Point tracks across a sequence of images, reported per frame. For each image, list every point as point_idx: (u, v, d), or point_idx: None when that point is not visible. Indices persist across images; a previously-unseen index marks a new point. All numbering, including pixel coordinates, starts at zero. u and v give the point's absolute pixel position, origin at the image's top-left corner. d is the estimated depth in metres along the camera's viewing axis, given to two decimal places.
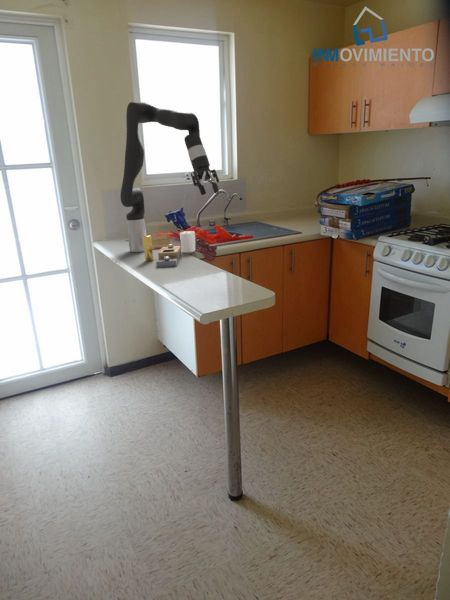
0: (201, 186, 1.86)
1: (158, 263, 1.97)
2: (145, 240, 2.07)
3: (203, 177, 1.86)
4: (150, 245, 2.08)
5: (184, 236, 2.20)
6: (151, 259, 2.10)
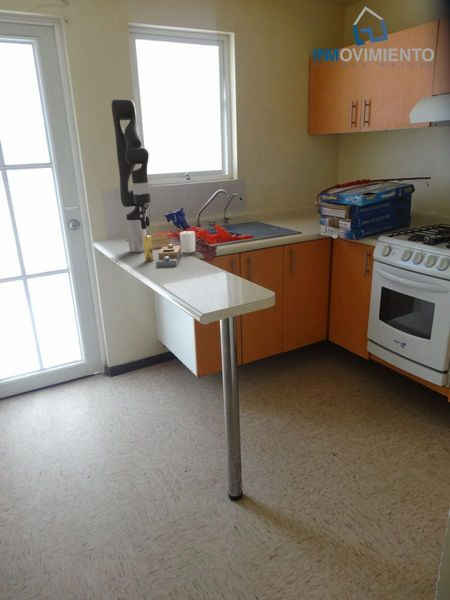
0: (144, 221, 2.01)
1: (158, 263, 1.97)
2: (145, 240, 2.07)
3: (146, 213, 2.02)
4: (150, 245, 2.08)
5: (184, 236, 2.20)
6: (151, 259, 2.10)
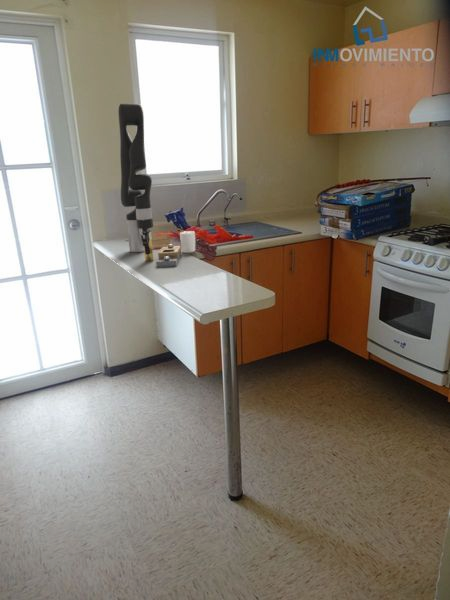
0: (148, 247, 2.07)
1: (158, 263, 1.97)
2: None
3: (149, 238, 2.06)
4: (150, 245, 2.08)
5: (184, 236, 2.20)
6: (151, 259, 2.10)
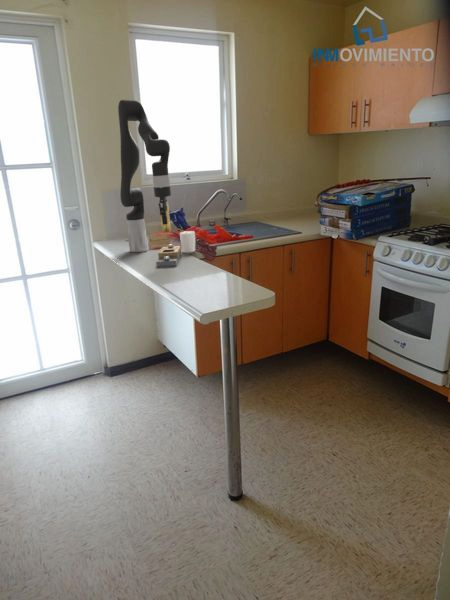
0: (165, 216, 1.98)
1: (158, 263, 1.97)
2: None
3: None
4: (167, 215, 2.00)
5: (184, 236, 2.20)
6: (168, 230, 2.01)
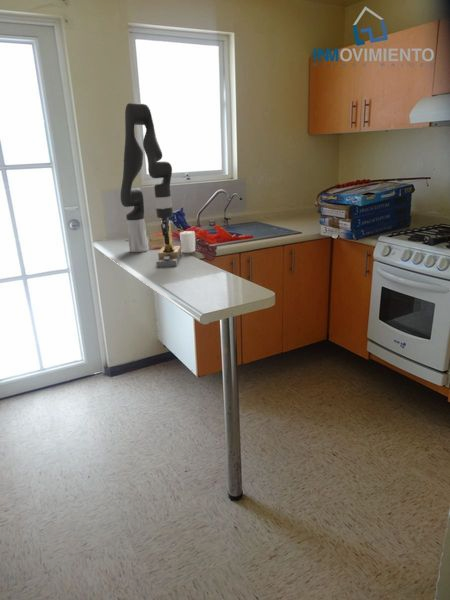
0: (167, 237, 2.01)
1: (158, 263, 1.97)
2: None
3: (169, 228, 2.01)
4: (170, 235, 2.03)
5: (184, 236, 2.20)
6: (170, 249, 2.04)
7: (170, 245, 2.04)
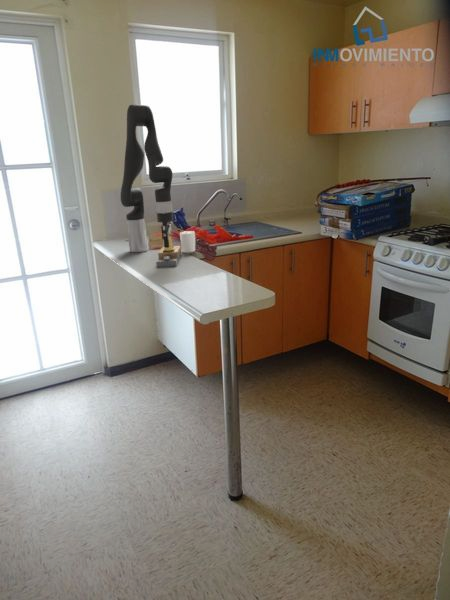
0: (167, 240, 2.00)
1: (158, 263, 1.97)
2: None
3: (169, 231, 2.00)
4: (170, 245, 2.04)
5: (184, 236, 2.20)
6: None
7: None
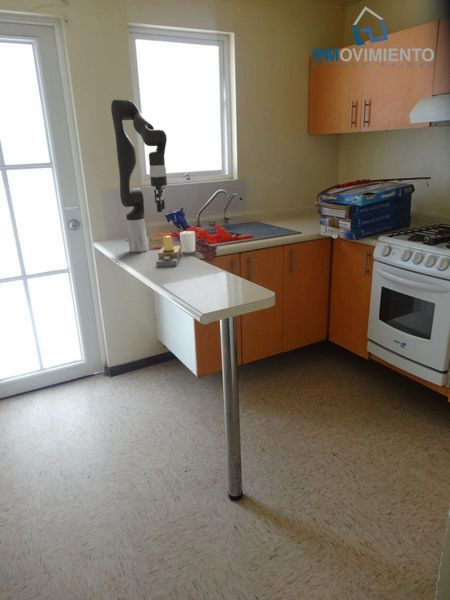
0: (160, 204, 2.00)
1: (158, 263, 1.97)
2: (166, 240, 2.03)
3: (162, 196, 2.01)
4: (171, 245, 2.04)
5: (184, 236, 2.20)
6: None
7: None
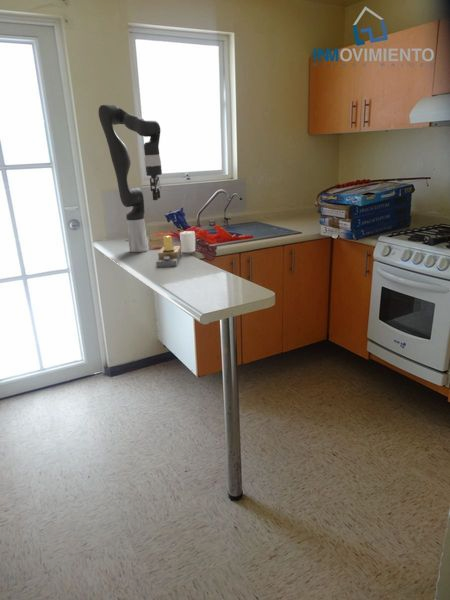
0: (155, 192, 2.07)
1: (158, 263, 1.97)
2: (166, 240, 2.03)
3: (157, 185, 2.08)
4: (171, 245, 2.04)
5: (184, 236, 2.20)
6: None
7: None
